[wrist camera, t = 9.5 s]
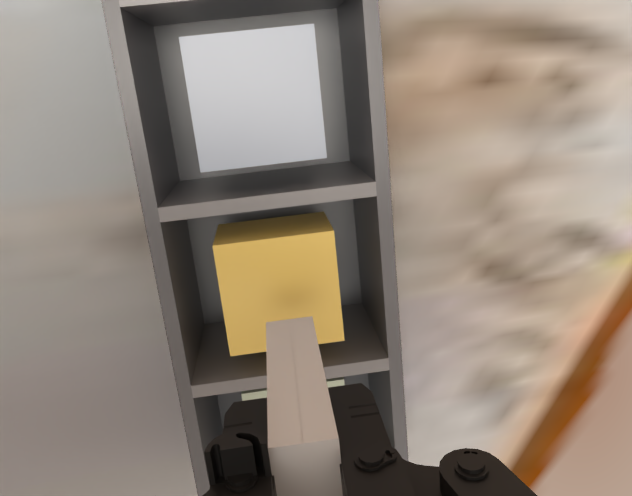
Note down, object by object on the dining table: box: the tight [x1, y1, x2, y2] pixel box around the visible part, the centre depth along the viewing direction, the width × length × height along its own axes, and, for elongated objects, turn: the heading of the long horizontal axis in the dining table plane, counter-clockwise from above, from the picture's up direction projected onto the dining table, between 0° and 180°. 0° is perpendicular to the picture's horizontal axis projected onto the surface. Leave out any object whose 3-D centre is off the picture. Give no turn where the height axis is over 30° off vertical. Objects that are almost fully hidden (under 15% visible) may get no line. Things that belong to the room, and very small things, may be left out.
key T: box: [212, 212, 345, 356], centre depth 25 cm, size 5×5×4 cm
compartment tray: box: [101, 0, 408, 496], centre depth 26 cm, size 10×34×7 cm, turn 6°
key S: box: [179, 24, 327, 173], centre depth 23 cm, size 5×5×4 cm
